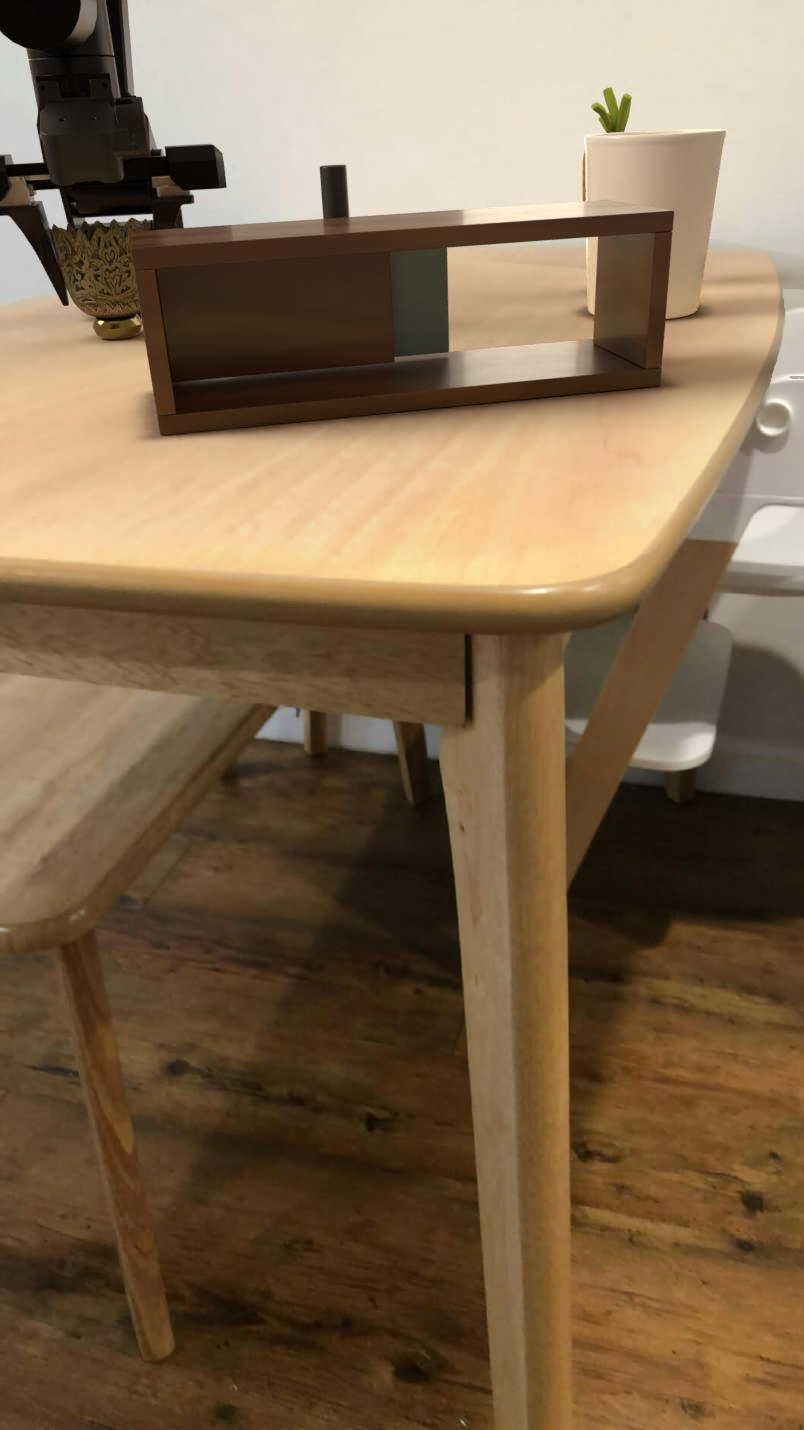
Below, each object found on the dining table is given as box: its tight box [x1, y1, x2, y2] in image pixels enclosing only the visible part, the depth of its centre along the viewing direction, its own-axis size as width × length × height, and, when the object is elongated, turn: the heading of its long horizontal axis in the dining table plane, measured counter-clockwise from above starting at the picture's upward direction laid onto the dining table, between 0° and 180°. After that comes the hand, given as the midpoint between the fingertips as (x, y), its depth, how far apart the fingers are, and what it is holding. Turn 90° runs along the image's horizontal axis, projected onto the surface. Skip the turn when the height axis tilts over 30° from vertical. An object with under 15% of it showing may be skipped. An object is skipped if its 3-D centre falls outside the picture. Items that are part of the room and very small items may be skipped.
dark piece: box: [319, 164, 450, 357], centre depth 62 cm, size 5×13×10 cm, turn 103°
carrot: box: [581, 87, 633, 202], centre depth 87 cm, size 5×5×15 cm
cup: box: [48, 217, 153, 340], centre depth 78 cm, size 8×7×8 cm
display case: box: [131, 200, 674, 436], centre depth 59 cm, size 10×28×9 cm, turn 103°
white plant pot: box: [584, 128, 727, 320], centre depth 77 cm, size 10×10×12 cm
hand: (113, 301), depth 79 cm, fingers closed on cup, 7 cm apart
